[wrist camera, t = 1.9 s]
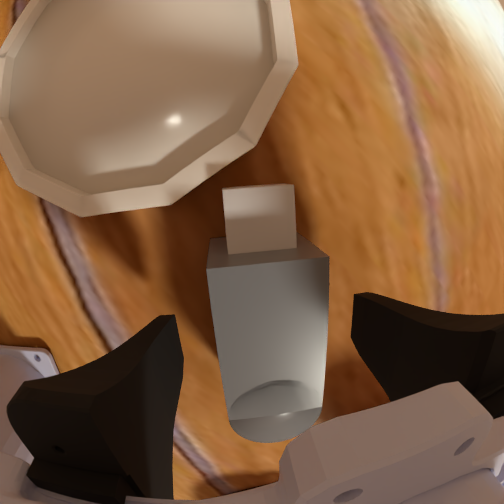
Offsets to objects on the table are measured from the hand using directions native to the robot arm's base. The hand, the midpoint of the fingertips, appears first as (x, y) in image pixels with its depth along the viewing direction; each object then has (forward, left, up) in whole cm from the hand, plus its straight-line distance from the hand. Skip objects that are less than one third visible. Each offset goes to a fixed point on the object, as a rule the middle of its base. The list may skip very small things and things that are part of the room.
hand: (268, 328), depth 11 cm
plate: (-5, +12, -3) cm, 13 cm away
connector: (0, 0, -3) cm, 3 cm away
